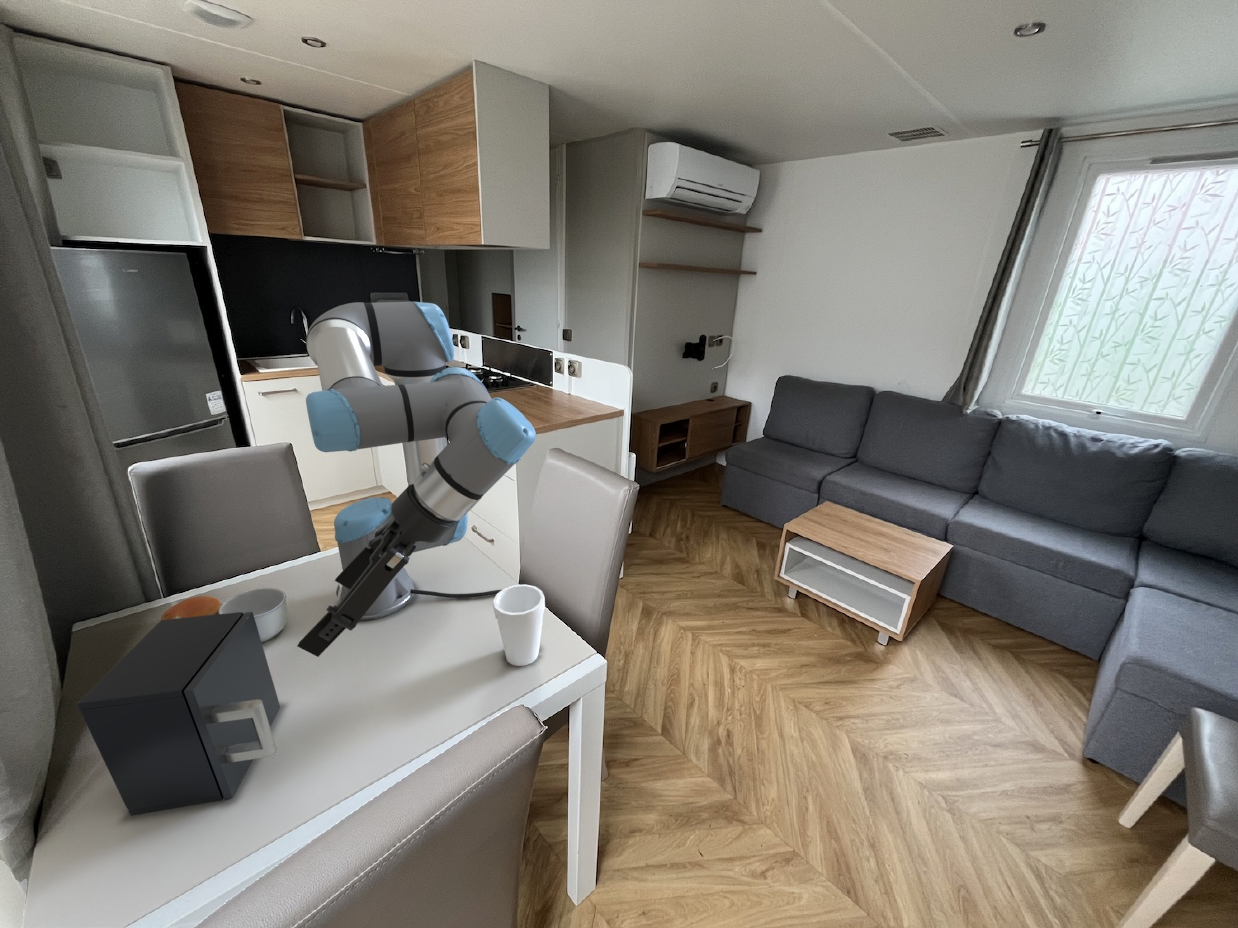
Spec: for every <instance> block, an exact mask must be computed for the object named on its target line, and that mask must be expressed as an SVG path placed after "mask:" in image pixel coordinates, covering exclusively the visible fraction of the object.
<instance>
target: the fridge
mask: <svg viewBox="0 0 1238 928" xmlns="http://www.w3.org/2000/svg"><path fill="white" fill-rule="evenodd" d="M243 615H244V613H243V612H237V613H227V614H217V615H207V616H197V617H187V618H178V619H168V620H161V619H160V620H159V622H158V623H157V624H156V625H154V627H153V628H151V630H149V632H147V634H145V635H144V636H143V637H142V639H140V640H139V641H138V642H137V643H136V644H135V646H133V648H131V649H130V650H129V651H128V652H127V653H126V654H125V655H124V656H123V657H122V659H120V660H119V661H118V662H117V663H116V664H115V665H114V666H113V667H112V668H111V669H110V670H109V671H108V672H107V673H106V674H104V676H103V677H102V678H101V679H100V680H99V681H98V682H97V683H96V684H95V685H94V686H93V687H91V689H90V690H89V691H88V692H87V693H86V694H85V695H84V696H83V697H82V698H81V699H80V700H79V701H77V703H76V706H77V708H78V710H79V712H80V713H81V716H82V718H83V720H84V723H85V724H86V726H87V728H88V730H89V731H88V732H90V735H91V738H92V739H93V741H94V742H95V745H96V747H97V749H98V751H99V753H100V756H101V758H102V761H103V762H104V764H105V766H106V768H107V770H108V773H109V774H110V776H111V779H112V780H113V783H114V784H115V787H116V789H117V791H118V793H119V795H120V798H121V799H122V801H123V804H124V805H125V808H126V810H127V811H128V813H129V816H130V817H132V816H138V815H144V814H145V815H146V814H149V813H155V812H163V811H167V810H168V811H169V810H174V809H181V808H186V807H192V806H198V805H204V804H209V803H216V802H221V801H223V800H225V799H224V797H223V794H222V791H221V789H220V786H219V784H218V781H217V778H216V776H215V773H214V770H213V768H212V765H211V762H210V760H209V757H208V754H207V752H206V749H205V746H204V744H203V741H202V738H201V736H200V733H199V730H198V728H197V725H196V722H195V720H194V717H193V714H192V712H191V709H190V706H189V704H188V701H187V698H186V696H185V693H184V690H185V689H186V688H187V687H188V685H189V684H190V683H191V681H192V680H193V679H194V678H195V676H196V675H197V674H198V672H199V671H200V670H201V669H202V667H203V666H204V665H205V664H206V662H207V661H208V660H209V658H210V657H211V656H212V655H213V653H214V652H215V651H216V649H217V648H218V647H219V646H220V644H221V643H222V642H223V640H224V639H225V638H226V637H227V635H228V634H229V633H230V632H231V630H232V629H233V628H234V626H235V625H236V624H237V623H238V621H239V620H240V619H241V617H242V616H243Z"/></svg>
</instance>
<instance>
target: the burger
mask: <svg viewBox="0 0 1238 928" xmlns="http://www.w3.org/2000/svg"><path fill="white" fill-rule="evenodd" d="M222 604H223V603H222V602H221V600H220V599H219V598H216V597H214V596H208V595H198V596H193V597H188V598H186V599H184V600H182V601H180V602H178V603H176V604H174V605H172V606H171V607H169V608H168V609H166V611H164V613H162V615H161V617H160V621H161V620H168V619H178V618H187V617H197V616H207V615H217V614H219V609H220V607H221V605H222Z"/></svg>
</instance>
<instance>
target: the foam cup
mask: <svg viewBox="0 0 1238 928" xmlns="http://www.w3.org/2000/svg"><path fill="white" fill-rule="evenodd" d="M501 590H502V591H500V592H499V593H497V594H495V596H494V598H493V600H492V603H493V605H492V606H493V613H494V617H495V620H497V625H498V630H499V634H500V638H501V641H502V646H503V649H504V654H505V658H506V661H507V662H508V663H509V664H510V665H512V666H516V667H523V666H528V665H530V664H532V663H533V662H535V661H536V660H537V659H538V656H539V651H540V644H541V636H542V628H543V619H544V611H545V609H546V598H545V595H544V592H543V590H541V588H539V587H538V586H535V585H529V584H525V583H524V584H513V585H511V586H507V587H505V588H503V589H501Z"/></svg>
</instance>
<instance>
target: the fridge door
mask: <svg viewBox="0 0 1238 928" xmlns="http://www.w3.org/2000/svg"><path fill="white" fill-rule="evenodd" d="M184 693H185V696H186V698H187V701H188V704H189V706H190V709H191V712H192V714H193V717H194V720H195V722H196V725H197V728H198V730H199V733H200V736H201V738H202V741H203V744H204V746H205V749H206V752H207V754H208V757H209V760H210V762H211V765H212V768H213V770H214V773H215V776H216V778H217V781H218V784H219V786H220V789H221V791H222V794H223V797H224V799H223V800H231V799H234V796H235V795H236V792H237V791H238V789H239V787H240V785H241V783H242V781H243V780H244V777H245V775H246V774H247V771H248V770H249V768H250V766H251V764H252V762H253V760H258V759H262V758H268V757H271V756H273V755H274V754H275V753H276V752H277V750H278V749H277V746H276V742H275V739H274V736H273V732H272V729H271V726H272V725H273V722H274V720H275V719H276V717H277V715H278V713H279V711H280V710H281V705H280V702H279V701H280V700H279V698H278V695H277V691H276V688H275V684H274V679H273V677H272V674H271V670H270V667H269V664H268V659H267V656H266V653H265V650H264V646H263V642H261V639H260V636H259V632H258V629H257V625H256V622H255V618H254V615H253V612H245V614H244V615H243V616H242V617H241V619H240V620H239V621H238V623H237V624H236V625H235V626H234V628H233V629H232V630H231V632H230V633H229V634H228V635H227V637H226V638H225V639H224V640H223V642H222V643H221V644H220V646H219V647H218V648H217V649H216V651H215V652H214V653H213V655H212V656H211V657H210V658H209V660H208V661H207V662H206V664H205V665H204V666H203V667H202V669H201V670H200V671H199V672H198V674H197V675H196V676H195V678H194V679H193V680H192V681H191V683H190V684H189V685H188V687H187V688H186V689H185V690H184Z"/></svg>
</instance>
